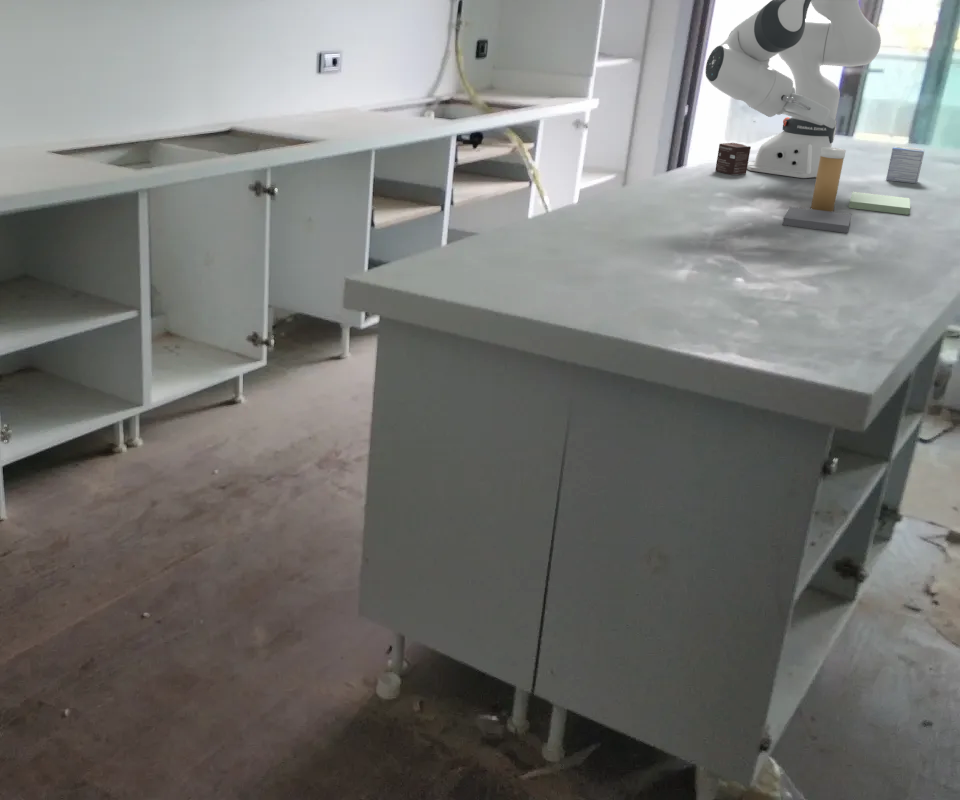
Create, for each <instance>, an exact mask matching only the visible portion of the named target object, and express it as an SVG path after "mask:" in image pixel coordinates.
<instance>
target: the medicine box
mask: <svg viewBox="0 0 960 800" xmlns="http://www.w3.org/2000/svg"><path fill="white" fill-rule="evenodd" d="M924 154H925V148H920V147H919V148H918V147H917V148H916V147H909V146H908V147H907V146H899V145H894V146H893V147H892V149H891V154H890V158H889V164H888V168H887V173H886V178H885V181H889V182H890V181H891V182H898V183H899V182H900V183H907V184H909V183H910V184H918V181H919V178H920V172H921V168H922V164H923V159H924V156H925V155H924Z"/></svg>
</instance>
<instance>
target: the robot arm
mask: <svg viewBox="0 0 960 800" xmlns="http://www.w3.org/2000/svg"><path fill="white" fill-rule="evenodd" d="M810 4H811V6H812V7H813V9H814V10H815V11H816V12H817V13H818V14H820V15H821V16H823V17H825V18H826V19H819V18H818V19H817V18H807V14H808V9H809V7H810ZM881 41H882V39H881V35H880V32H879V30H878V28H877V26H875V25H874V24H873V23H872V22H870V21H869V20H868V19H867V17H866V16H865V14H863V11H862V9H861V6H860V4H859V0H770V1H769V2H768V3H767V4H765V5H764V6H763V7H762V8H761V9H759V10H758V11H756V12H755V13H753V14H752V15H750V16H749V17H748V18H746V19H744V20H743V21H742V22H740V23H739V24H737V26H735V27H734V28H733V29H732V30H731V32H730V33H729V35H728V37H727V38H726V40H725V41H724V42H722V43H721V44H720V45H717V46H715V48H713V49H712V51H711V53H710V54H709V56H708V59H707V60H706V64H705V76H706V80H708V82H709V83H710V84H711V85H712V86H713V87H714V88H715V89H717V90H719V91H720V92H722V93H723V94H725V95H727V96H729V97H730V98H733V99H734V100H738V101H742V102H744V103H745V104H746V105H747V106H748V107H749V108H751V109H753V110H755V111H757V112H759V113H761V114H762V115H764V116H766V117H768V118H772V117H774V116H776V115H778V116H780V115H785V116H786V117H785V118H784V119H783V121H782V123H783V124H782V131H781V132H779V133H777V134H776V135H775V136H773V137H771V138H770V139H768V140H766V141H765V142H763V144H761V146H760V147H759V148H758V150H757V153H756V156H755V160H752V161H748V166H747V171H748V170H749V171H750V172H757V173H758V172H759V173H766V174H772V175H778V176H785V177H792V178H793V177H794V178H801V179H807V178H809V179H810V178H816V177H817V171H818V166H819V161H820V153H821V148H823V147H831V148H832V145H833V143H834V141H835V135H836V131H837V123H838V121H837V120H836V118H837V113H838V108H839V103H840V98H841V97H840V96H841V93H840V89H839V87H838V86H837V85H836V84H835V83H834V82H832V81H831V80H830V79H828V78H827V77H825V76H823V74H822V73H821V70H820V67H821V66H832V67H833V66H834V67H847V68H850V67H859V66H865V65H866V66H868V65H870V63H871V62H872V61H874V59H875V58H876V57H877V55H878V54H879V51H880V48H881V43H882V42H881ZM776 55H778V56H779V57H780V58H781V59H782V60H783V61H784V62H785V63H786V65H787V66H788V68H789V69H790V71H791V73H792V75H793V79H794V82H793V80H792V78H790V77H789V76H786V75H785V74H783V73H781V72H779V71H777V70H775V69H774V68H772V67H770V65H769V63H770V61H771V60H770V59H771V58H773V57H774V56H776ZM794 84H795V87H794ZM788 116H789V117H788Z"/></svg>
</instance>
